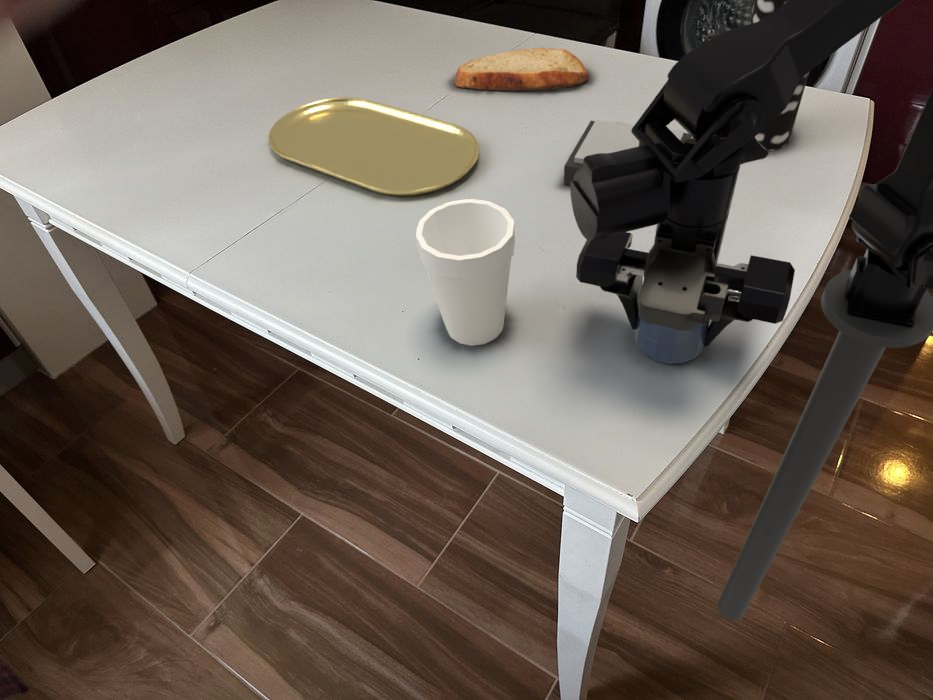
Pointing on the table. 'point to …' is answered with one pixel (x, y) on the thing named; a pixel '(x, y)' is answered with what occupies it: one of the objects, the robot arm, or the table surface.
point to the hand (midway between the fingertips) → (669, 335)
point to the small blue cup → (670, 341)
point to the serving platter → (375, 145)
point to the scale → (604, 143)
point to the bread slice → (523, 71)
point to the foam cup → (468, 266)
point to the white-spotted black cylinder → (783, 124)
